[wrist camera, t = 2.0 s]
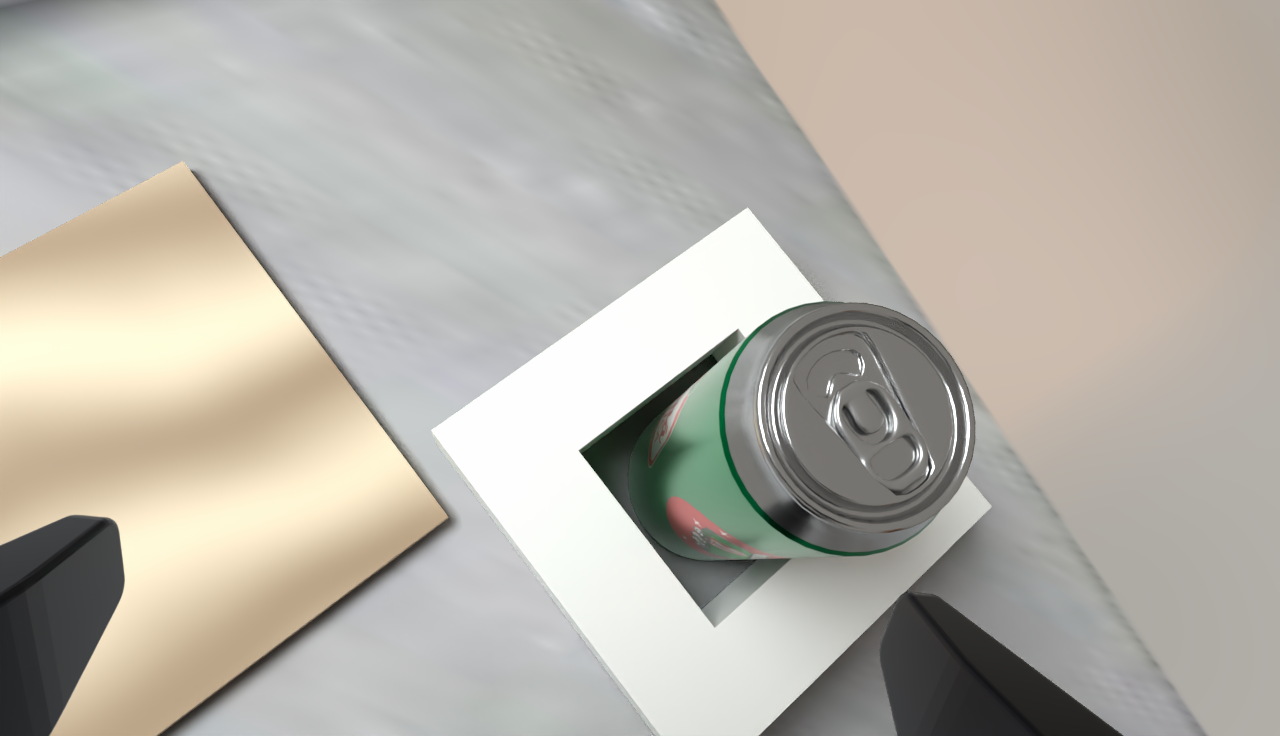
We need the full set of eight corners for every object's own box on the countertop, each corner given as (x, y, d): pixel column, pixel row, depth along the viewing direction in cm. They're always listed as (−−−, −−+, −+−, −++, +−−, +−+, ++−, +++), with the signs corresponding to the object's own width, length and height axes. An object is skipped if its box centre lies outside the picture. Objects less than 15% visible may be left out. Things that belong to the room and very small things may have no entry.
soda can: (719, 378, 27) (891, 238, 15) (802, 505, 26) (1046, 457, 15) (594, 456, 25) (681, 366, 14) (680, 592, 25) (845, 615, 13)
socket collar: (938, 513, 27) (991, 506, 24) (676, 764, 23) (701, 791, 21) (721, 244, 28) (747, 207, 25) (437, 446, 24) (431, 430, 22)
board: (449, 517, 24) (448, 517, 23) (-14, 864, 20) (-26, 871, 19) (189, 168, 25) (183, 161, 25) (-300, 428, 21) (-318, 424, 20)
